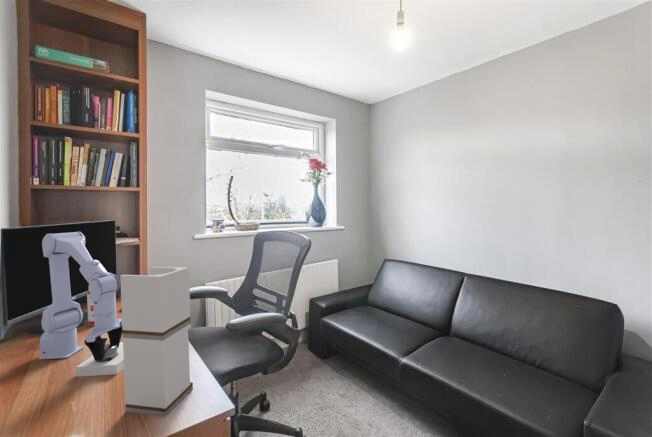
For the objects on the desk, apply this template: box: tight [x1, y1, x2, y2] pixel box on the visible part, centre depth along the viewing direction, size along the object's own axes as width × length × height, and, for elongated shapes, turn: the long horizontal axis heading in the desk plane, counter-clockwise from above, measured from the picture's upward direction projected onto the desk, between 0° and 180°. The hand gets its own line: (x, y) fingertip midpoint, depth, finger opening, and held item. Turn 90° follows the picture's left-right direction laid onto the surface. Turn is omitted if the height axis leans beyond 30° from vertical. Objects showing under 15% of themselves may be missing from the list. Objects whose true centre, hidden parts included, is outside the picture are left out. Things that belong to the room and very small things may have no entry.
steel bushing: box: [96, 343, 117, 362], centre depth 93 cm, size 6×6×6 cm
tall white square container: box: [119, 266, 194, 418], centre depth 76 cm, size 11×11×35 cm
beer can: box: [86, 290, 95, 326], centre depth 130 cm, size 6×6×16 cm
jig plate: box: [75, 341, 124, 378], centre depth 96 cm, size 12×16×3 cm
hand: (107, 353), depth 93 cm, fingers open, 7 cm apart
